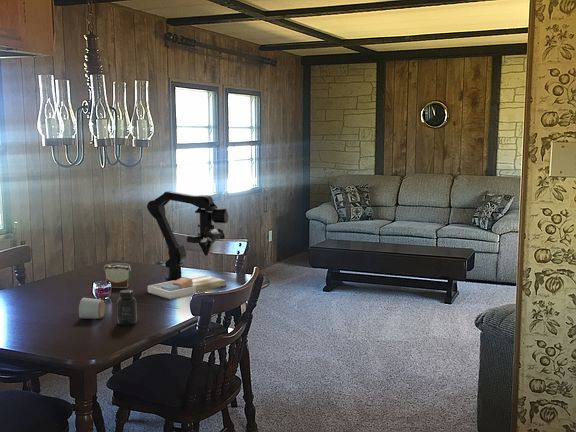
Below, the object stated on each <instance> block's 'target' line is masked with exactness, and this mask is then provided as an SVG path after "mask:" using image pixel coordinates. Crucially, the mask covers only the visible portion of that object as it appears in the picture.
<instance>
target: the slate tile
mask: <svg viewBox="0 0 576 432" xmlns="http://www.w3.org/2000/svg"><path fill="white" fill-rule="evenodd" d="M161 289H164V290H167V291H174V290H179V289H181V286H178V285H175V284H169V285H164V286H161Z"/></svg>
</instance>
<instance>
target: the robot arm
mask: <svg viewBox="0 0 576 432" xmlns="http://www.w3.org/2000/svg"><path fill="white" fill-rule="evenodd" d="M170 201H174V202H179V203H184V204H190V205H192V206H195V207H196V208H197V210H195V211H194V213H195V214H199V224H197V227H198V228H199V232H198V233H197V235H195V234H193V235H187V236H186V243H191V244H198V245H199V246H200V249H201V250H202V252H203V254H204V256H205V257H207V256H208V255H209V252H210V249H211V247H212V245H213V244H214V243H215V242H216V241H217V240H218V241H220V240H225V239H226V238H225V236H226V235H225V233H224V230H223V228H217V229H215V224H228V222H229V213H228V210H227V209H228V208H218V206H217V204H215V202H214V198H213V197H212V196H211V195H208V194H206V195H205V194H201V195H193V194H187V193H181V192H175V191H172V190H168V191H165V192H163V193H162V194H161V195H159V196H158V197H156V198H155V199H154V200H153V199H152V200H150V201H149V202H148V203H147V205H146V209H147V211H148V212H149V214H150V215H151V217H152V218H154V219H155V220H156V223H157V225H158V228H159V230H160V231H161V234H162V236H163V239H164V240H165V243H166V246H167V248H168V249H167V251H168V252H167V253H168V254H167V255H168V258H169V259H167V260H166V261H165V262H164V265H165V268H167V276H166V277H164V278H165V279H166V280H169V281H176V280H178V279H180V278H182V277H183V276H182V266H181V265H183V263H184V261H185V260H186V258H187V251H186V249H185V247H184V245H180V244H179V242H178V241H177V239H176V237H175V235H174V233H173V230H172V227H171V226H170V223H169V221H168V218H167V216H166V208H165V206H166V205H167V204H168V203H169V202H170ZM213 222H214V224H213Z"/></svg>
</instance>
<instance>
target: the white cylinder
mask: <svg viewBox="0 0 576 432" xmlns="http://www.w3.org/2000/svg"><path fill="white" fill-rule="evenodd" d="M105 311H106V303H105V301H104V299H99V298H90V297H82V298H81V300H80V301H79V304H78V315H79V319H88V320H89V319H92V320H93V319H95V320H98V319H102V318H103V317H104V316H105V313H106V312H105Z"/></svg>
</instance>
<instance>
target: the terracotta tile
mask: <svg viewBox="0 0 576 432" xmlns="http://www.w3.org/2000/svg"><path fill="white" fill-rule="evenodd" d="M181 277H182V278H180V279H178V280H173V281H174V282H173V284H175V285H178V286H181V289H184V288H186V287H188V286H190V285H192V284H193V282H192V278H190V277H185V276H181Z"/></svg>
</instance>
